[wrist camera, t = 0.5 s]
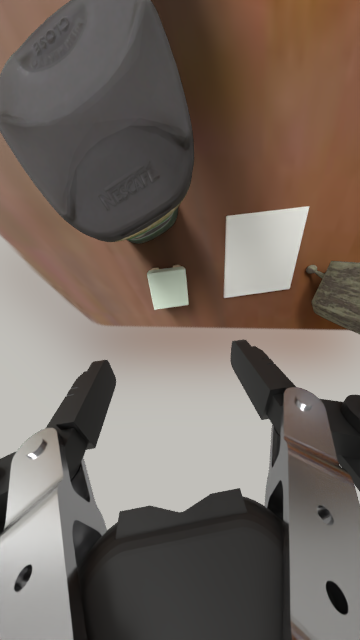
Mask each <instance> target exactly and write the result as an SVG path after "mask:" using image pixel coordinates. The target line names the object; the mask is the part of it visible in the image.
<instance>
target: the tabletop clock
mask: <svg viewBox="0 0 360 640" xmlns="http://www.w3.org/2000/svg"><path fill="white" fill-rule="evenodd" d="M306 272H307V273H309V274H311V273H315V274H317V275H318V276H319V277H321V278H322V281H321V283H320V285H319V287H318V289H317V291H316V294H315V296H314V298H313V300H312V306H313V310H314V312H315V313H316V314H317V315H319V316H321V317H323V318H325V319H327V320H329V321H331V322H334V323H336V324H338V325H340V326H342V327H344V328H347V329H349V330H351V331H354V332H356V333H358V334H360V263H355V262H339V261H331V263H330V265H329V267H328V269H327V271H326V273H325V274H324V273H322V272H319V271H317V267H316V266H315V265H310V266H308V267H307V269H306Z"/></svg>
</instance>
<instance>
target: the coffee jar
mask: <svg viewBox="0 0 360 640" xmlns="http://www.w3.org/2000/svg"><path fill="white" fill-rule="evenodd" d="M0 132H1V134H2V135H3V137H4V139H5V141H6V142H7V144H8V145H9V147H10V148H11V150H12V152H13V153H14V155H15V156H16V158H17V159H18V161H19V162H20V164H21V165H22V167H23V168H24V170H25V171H26V173H27V174H28V175H29V177H30V178H31V180H32V181H33V183H34V184H35V185H36V187H37V188H38V189H39V191H40V192H41V193H42V194H43V196H44V197H45V198H46V199H47V201H48V202H49V203H50V204H51V205H52V207H53V208H54V209H55V210H56V211H57V212H58V213H59V215H60V216H61V217H62V218H63V219H64V220H66V221H67V222H68V223H69V224H71V225H72V226H73V227H74V228H76V229H77V230H79V231H80V232H82V233H84V234H86V235H88V236H90V237H93V238H95V239H98V240H101V241H105V242H117V241H122V240H128V241H130V242H133V243H137V244H140V243H144V242H147V241H149V240H152V239H154V238H155V237H157V236H159V235H161V234H162V233H164V232H165V231H167V230H168V229H169V228H170V227H171V226H172V225H173V224H174V223H175V221H176V218H177V215H178V206H179V205H180V203H181V202H182V201H183V199H184V197H185V196H186V194H187V191H188V189H189V186H190V183H191V178H192V170H193V165H194V143H193V132H192V126H191V120H190V116H189V111H188V106H187V102H186V98H185V94H184V91H183V87H182V83H181V79H180V76H179V73H178V69H177V66H176V63H175V60H174V57H173V54H172V51H171V48H170V45H169V42H168V39H167V36H166V34H165V31H164V28H163V26H162V23H161V21H160V18H159V15H158V13H157V11H156V9H155V7H154V5H153V3H152V2H151V0H71V1H69V2H68V3H66V4H65V5H64V6H62V7H61V8H60V9H59V10H57V11H56V12H55V13H54V14H52V15H51V16H50V17H49V18H48V19H47V20H46V21H45V22H44V23H43V24H42V25H40V26H39V27H38V28H37V29H36V30H35V31H34V32H33V33H32V34H31V35H30V36H29V37H28V39H27V40H26V41H25V42H24V43H23V44H22V45H21V46H20V48H19V49H18V50H17V51H16V52H15V53H13V54H12V55H11V57H10V58H9V59H8V61H7V62H6V64H5V66H4V68H3V70H2V72H1V74H0Z"/></svg>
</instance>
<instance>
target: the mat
mask: <svg viewBox="0 0 360 640" xmlns="http://www.w3.org/2000/svg"><path fill="white" fill-rule="evenodd" d="M308 210H309V206H308V207H299V208H291V209H282V210H274V211H265V212H257V213H248V214H240V215H231V216H226V236H225V270H224V298H228V297H235V296H242V295H250V294H257V293H264V292H271V291H278V290H285V289H290V285H291V281H292V277H293V273H294V268H295V264H296V260H297V256H298V252H299V247H300V243H301V239H302V235H303V231H304V227H305V222H306V218H307V214H308Z"/></svg>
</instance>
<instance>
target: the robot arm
mask: <svg viewBox="0 0 360 640" xmlns="http://www.w3.org/2000/svg"><path fill="white" fill-rule="evenodd" d="M231 365H232V367H233V370H234V371H235V373H236V375H237V377H238V379H239V380H240V382H241V384H242V386H243V387H244V389H245V391H246V393H247V395H248V396H249V398H250V400H251V402H252V404H253V405H254V407H255V409H256V411H257V413H258V414H259V416H260V418H261V419H262V420H264V419H270V420H271V422H272V424H273V425H272V433H271V449H270V464H269V473H268V478H267V485H266V494H265V506H263V505H261V504H260V503H258V502H256V501H254V500H251V499H249V498H246V497H242V494H241V491H240V488H239V489H234V490H228V491H223V492H218V493H213V494H210V495H209V496H207V497H206V498H204V499H203V500H201V501H200V502H198V503H196V504H195V505H193V506H192V507H190V508H189V509H187V510H186V511H184V512H181V513H179V512H175V511H170V510H166V509H162V508H157V507H153V506H146V507H141V508H136V509H131V510H126V511H120V513H119V519H118V522H117V523H116V524H115V525H113V526H112V527H111V528H110V529H109V530H107V529H106V526H105V522H104V519H103V517H102V514H101V512H100V511H99V509H98V507H97V505H96V503H95V499H94V496H93V492H92V488H91V484H90V480H89V477H88V473H87V470H86V465H85V461H84V459H83V456H84V453H85V450H87V449H92V448H95V447H96V444H97V441H98V438H99V434H100V432H101V429H102V426H103V422H104V420H105V417H106V413H107V410H108V407H109V404H110V401H111V398H112V395H113V392H114V389H115V386H116V378H115V375H114V373H113V371H112V368H111V366H110V364H109V362H108V361H107V360H102V361H95V362H93V363H92V364H91V365H90V367H89V369H88V371H86V372H84V373H83V374H82V375H80V377H78V379H76V381H75V382H74V384H73V386H72V387H71V389H70V390H69V392H68V394H67V397H65V399H64V400H63V402H62V403H61V405H60V407H59V408H58V410H57V411H56V413H55V414H54V416H53V417H52V419H51V421H50V422H49V424H48V425H47V427H46V428H45V429H43V430H40V431H39V432H37V433H35V434H34V435H32V436H31V437H30V438H29V439H27V440H26V441H25V442H24V443H23V444H22V445H21V447H20V448H19V449H18V451H16V452H14V453H12V454H10V455H7V456H6V457H4V458H1V459H0V640H360V504H359V501H358V497H357V493H356V490H355V486H356V487H357V488H358V490H359V491H360V395H350V396H348V397H347V398H346V399H345V401H344V402H338V401H331V400H324V399H319V398H318V397H316V396H315V395H314V394H312V393H311V392H309V391H307V390H304V389H302V388H297V387H296V386H295V385H294V384H293V383H292V382H291V381H290V380H289V379H288V378H287V377H286V375H285V374H284V373H283V372H282V371H281V370H280V369H279V368H278V367H277V366H276V365H275V364H274V363H273V361H272V360H271V359H269V358H268V356H267V355H266V354H265V353H264V352H263V351H262V350H260V349H258V348H257V347H255V346H253V347H251V345H250V344H249V343H248V342H247V341H246V340H238V341H233V342H232V348H231ZM339 464H340V466H341V467H342V468H341V467H340V466H339ZM354 484H355V486H354Z"/></svg>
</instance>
